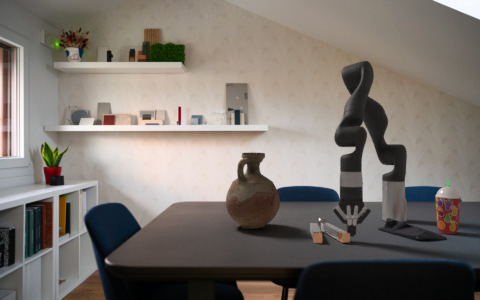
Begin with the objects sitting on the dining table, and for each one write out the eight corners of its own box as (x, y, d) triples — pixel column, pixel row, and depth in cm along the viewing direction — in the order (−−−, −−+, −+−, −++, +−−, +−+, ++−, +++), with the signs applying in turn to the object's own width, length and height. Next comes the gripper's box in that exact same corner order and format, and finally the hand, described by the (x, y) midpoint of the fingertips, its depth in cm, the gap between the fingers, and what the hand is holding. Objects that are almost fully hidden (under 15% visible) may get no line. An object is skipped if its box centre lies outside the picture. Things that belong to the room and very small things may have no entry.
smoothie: (457, 231, 143) (458, 178, 143) (463, 236, 135) (463, 180, 135) (433, 229, 146) (433, 178, 146) (437, 234, 138) (437, 179, 138)
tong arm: (320, 230, 144) (320, 222, 144) (327, 230, 144) (327, 222, 144) (342, 242, 125) (342, 233, 125) (350, 242, 125) (350, 233, 125)
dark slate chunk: (413, 244, 127) (413, 229, 127) (374, 230, 148) (374, 218, 148) (451, 241, 130) (451, 227, 130) (408, 228, 152) (408, 216, 152)
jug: (287, 224, 156) (287, 152, 156) (268, 235, 137) (268, 152, 136) (239, 220, 165) (239, 152, 165) (216, 230, 146) (215, 152, 146)
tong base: (309, 228, 148) (309, 217, 148) (325, 229, 147) (325, 217, 147) (313, 243, 125) (313, 229, 125) (333, 243, 125) (333, 230, 125)
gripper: (368, 184, 131) (368, 234, 131) (329, 184, 133) (330, 233, 133) (373, 186, 124) (374, 239, 124) (332, 185, 125) (333, 238, 125)
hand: (351, 236), depth 128 cm, fingers closed
